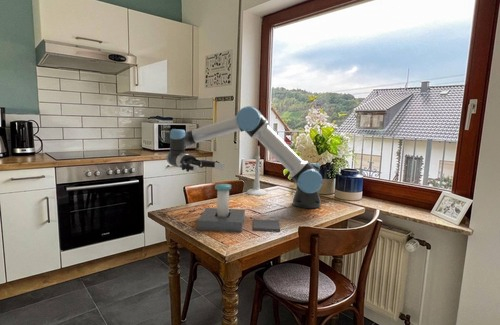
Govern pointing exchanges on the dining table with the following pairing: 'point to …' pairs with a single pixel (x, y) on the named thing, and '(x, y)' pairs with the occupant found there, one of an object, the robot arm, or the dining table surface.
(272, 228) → the pad
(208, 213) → the block
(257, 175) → the candlestick
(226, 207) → the teal capped tube
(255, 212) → the dining table surface
